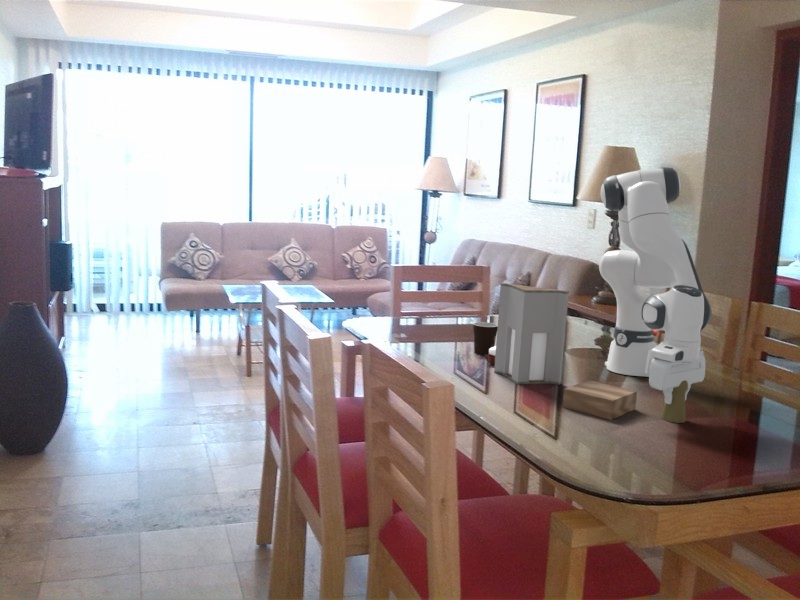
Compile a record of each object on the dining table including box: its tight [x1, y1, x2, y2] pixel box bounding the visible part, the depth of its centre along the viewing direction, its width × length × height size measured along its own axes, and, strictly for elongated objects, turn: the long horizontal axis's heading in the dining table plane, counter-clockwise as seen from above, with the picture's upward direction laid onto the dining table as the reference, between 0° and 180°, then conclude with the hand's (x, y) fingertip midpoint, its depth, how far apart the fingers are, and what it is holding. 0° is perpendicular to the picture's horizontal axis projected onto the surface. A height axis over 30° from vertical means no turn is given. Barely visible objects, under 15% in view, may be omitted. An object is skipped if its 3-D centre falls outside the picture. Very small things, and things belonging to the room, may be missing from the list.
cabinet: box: [493, 282, 570, 386], centre depth 227 cm, size 21×10×28 cm, turn 59°
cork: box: [660, 380, 688, 424], centre depth 197 cm, size 6×6×11 cm
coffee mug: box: [472, 321, 498, 356], centre depth 264 cm, size 12×9×10 cm
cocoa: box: [485, 345, 496, 366], centre depth 247 cm, size 10×6×12 cm, turn 96°
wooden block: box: [562, 380, 638, 421], centre depth 204 cm, size 14×14×5 cm
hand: (675, 401), depth 197 cm, fingers closed on cork, 4 cm apart
